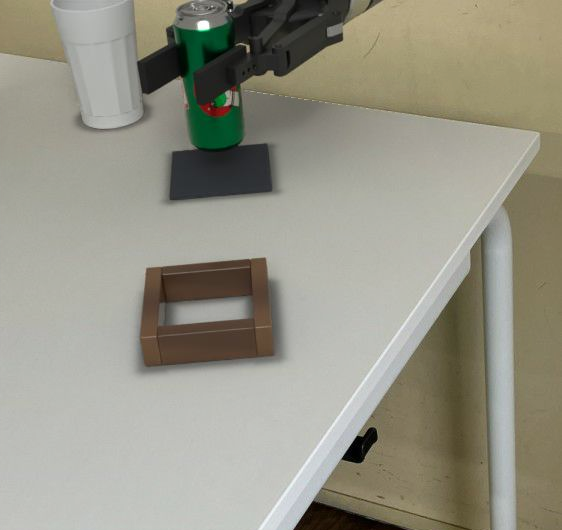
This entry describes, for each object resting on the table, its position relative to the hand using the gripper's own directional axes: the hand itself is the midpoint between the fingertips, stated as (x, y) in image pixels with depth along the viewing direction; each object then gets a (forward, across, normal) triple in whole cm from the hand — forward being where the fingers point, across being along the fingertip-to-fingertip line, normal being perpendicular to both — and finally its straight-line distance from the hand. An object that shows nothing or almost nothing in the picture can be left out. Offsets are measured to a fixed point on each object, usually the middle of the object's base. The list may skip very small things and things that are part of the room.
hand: (170, 83), depth 82 cm
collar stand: (+15, -13, -10) cm, 22 cm away
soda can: (-5, 0, -8) cm, 9 cm away
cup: (-11, +18, -11) cm, 23 cm away
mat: (-5, 0, -10) cm, 12 cm away
